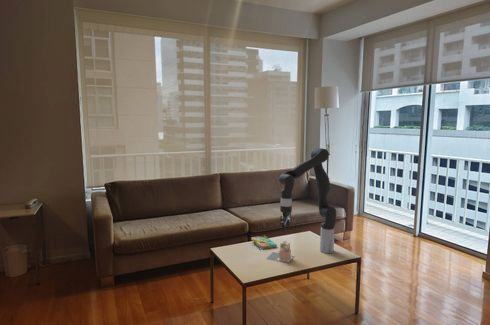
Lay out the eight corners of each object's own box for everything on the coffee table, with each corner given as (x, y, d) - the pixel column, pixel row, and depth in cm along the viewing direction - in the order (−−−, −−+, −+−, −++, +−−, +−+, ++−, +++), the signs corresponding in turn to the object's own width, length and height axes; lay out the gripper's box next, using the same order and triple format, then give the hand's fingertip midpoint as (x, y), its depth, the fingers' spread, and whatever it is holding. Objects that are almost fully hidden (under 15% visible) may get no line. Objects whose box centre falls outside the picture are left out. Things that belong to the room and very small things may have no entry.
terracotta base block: (290, 257, 218) (290, 249, 217) (287, 261, 213) (287, 252, 212) (282, 256, 221) (282, 247, 220) (279, 259, 215) (279, 250, 214)
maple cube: (289, 249, 217) (290, 242, 216) (287, 251, 212) (287, 244, 212) (282, 247, 219) (282, 240, 219) (280, 250, 215) (280, 243, 214)
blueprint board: (295, 258, 220) (295, 256, 220) (288, 265, 209) (288, 263, 209) (273, 254, 227) (273, 251, 227) (265, 261, 216) (265, 258, 216)
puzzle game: (262, 245, 231) (251, 236, 250) (262, 251, 232) (251, 242, 250) (276, 243, 236) (264, 234, 254) (276, 249, 236) (264, 240, 255)
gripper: (288, 207, 204) (287, 232, 206) (295, 202, 217) (294, 226, 219) (276, 206, 207) (276, 231, 209) (284, 201, 220) (283, 224, 222)
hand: (285, 228), depth 214 cm, fingers open, 8 cm apart
